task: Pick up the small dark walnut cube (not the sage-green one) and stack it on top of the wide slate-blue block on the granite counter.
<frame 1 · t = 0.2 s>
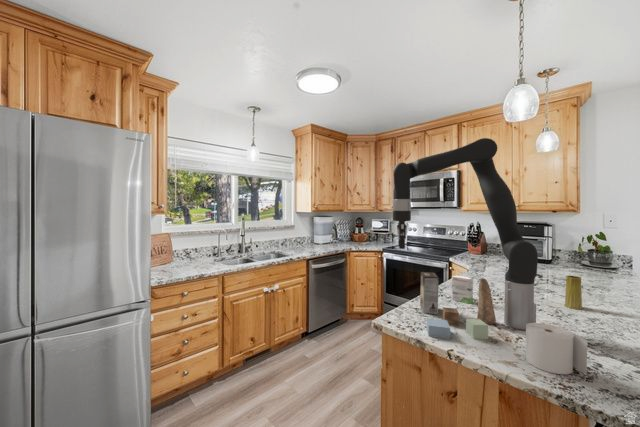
hand: (401, 247, 119), 28 cm above the countertop, tool pointing down, fingers open, 8 cm apart
ink box: (462, 301, 136), on the countertop
coffee box: (428, 310, 123), on the countertop
tan long rounded piece: (486, 322, 110), on the countertop
sage cube: (476, 336, 98), on the countertop
vase: (573, 307, 128), on the countertop
base block: (437, 333, 100), on the countertop
toilet tissue: (550, 365, 80), on the countertop
walnut cube: (450, 322, 109), on the countertop
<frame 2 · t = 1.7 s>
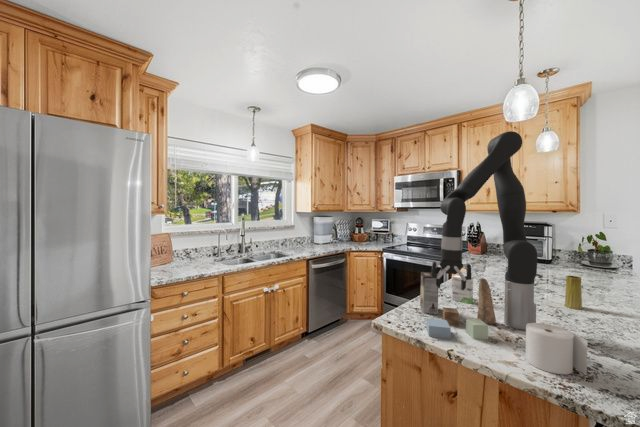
hand: (450, 288, 109), 13 cm above the countertop, tool pointing down, fingers open, 8 cm apart
nothing on the countertop moved.
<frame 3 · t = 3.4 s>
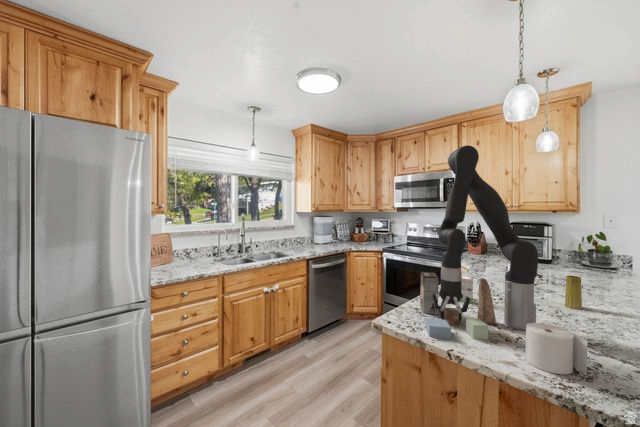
hand: (450, 320, 109), 1 cm above the countertop, tool pointing down, fingers closed on walnut cube, 5 cm apart
walnut cube: (450, 322, 109), on the countertop, touching gripper
everything else where it was.
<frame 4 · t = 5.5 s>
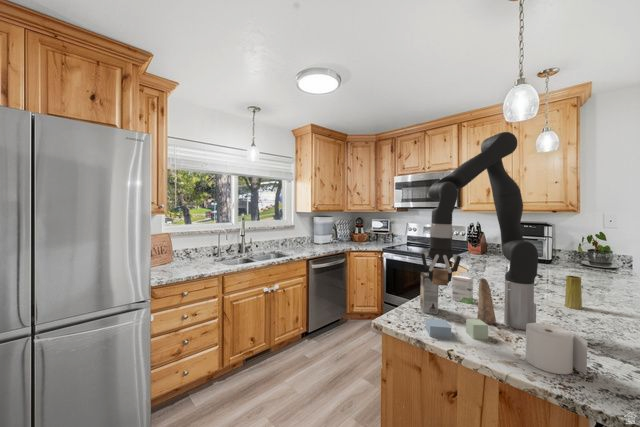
hand: (439, 281, 102), 18 cm above the countertop, tool pointing down, fingers closed on walnut cube, 5 cm apart
walnut cube: (439, 283, 102), point 17 cm above the countertop, touching gripper
everything else where it was.
when the fingers open (6 cm above the countertop, at t = 7.7 s): walnut cube drops 1 cm, point 4 cm above the countertop.
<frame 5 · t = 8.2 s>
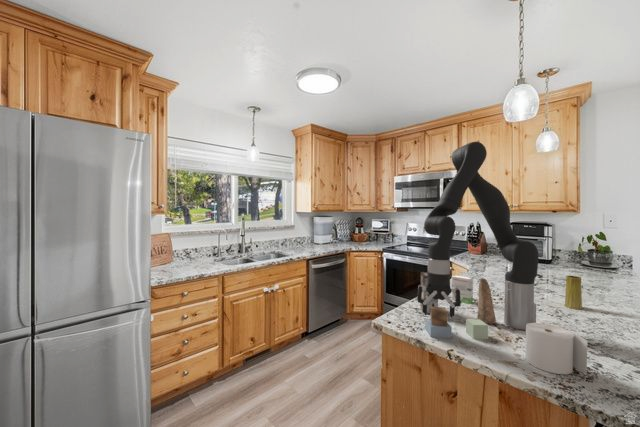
hand: (438, 315, 99), 6 cm above the countertop, tool pointing down, fingers open, 8 cm apart
walnut cube: (438, 322, 99), point 4 cm above the countertop
everything else where it was.
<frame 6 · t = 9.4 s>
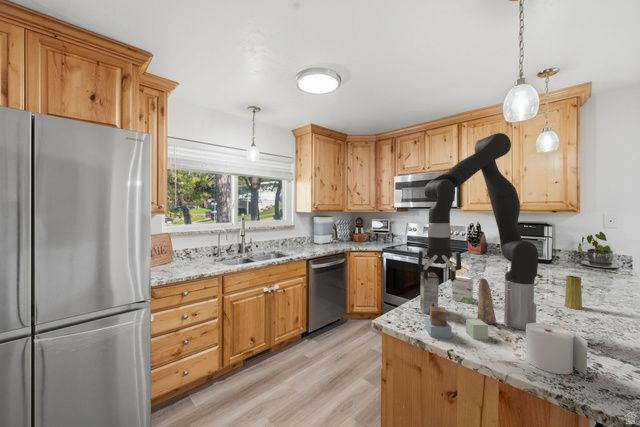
hand: (439, 280, 99), 19 cm above the countertop, tool pointing down, fingers open, 8 cm apart
nothing on the countertop moved.
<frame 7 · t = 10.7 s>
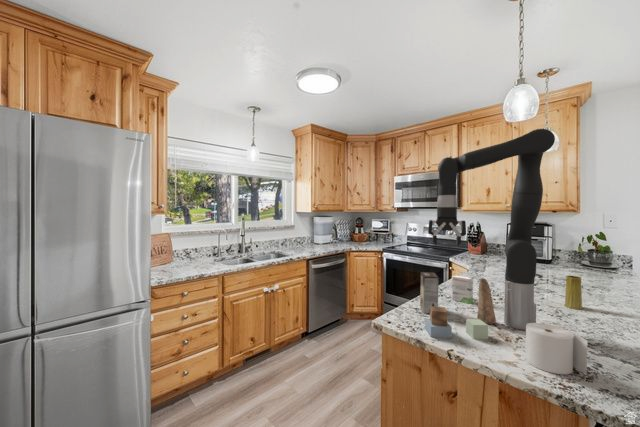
hand: (446, 245, 115), 30 cm above the countertop, tool pointing down, fingers open, 8 cm apart
nothing on the countertop moved.
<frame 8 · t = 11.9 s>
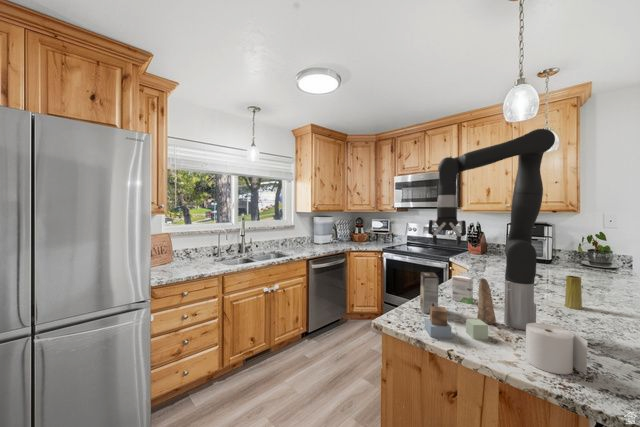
hand: (446, 244, 115), 30 cm above the countertop, tool pointing down, fingers open, 8 cm apart
nothing on the countertop moved.
at the end: walnut cube 0.5 cm off-centre on the base block, point 4.0 cm above the base block's base; walnut cube tilted 0°; the gripper is holding nothing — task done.
